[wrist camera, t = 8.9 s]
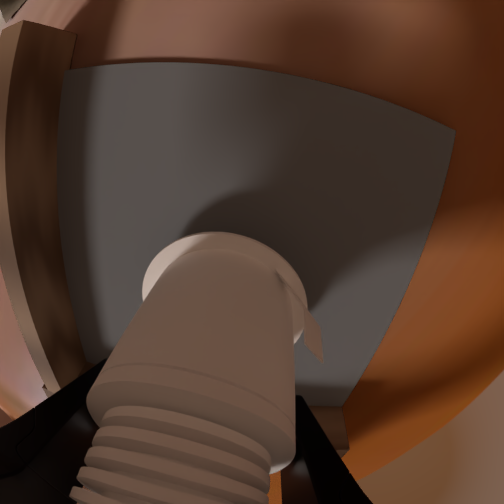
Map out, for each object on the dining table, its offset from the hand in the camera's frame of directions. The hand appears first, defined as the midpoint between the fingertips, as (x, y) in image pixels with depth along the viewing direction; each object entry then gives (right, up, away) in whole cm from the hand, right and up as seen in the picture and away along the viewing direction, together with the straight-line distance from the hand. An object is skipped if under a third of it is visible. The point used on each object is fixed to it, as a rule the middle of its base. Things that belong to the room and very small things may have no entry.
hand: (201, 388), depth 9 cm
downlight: (0, +2, +4) cm, 4 cm away
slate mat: (0, +3, +5) cm, 6 cm away
